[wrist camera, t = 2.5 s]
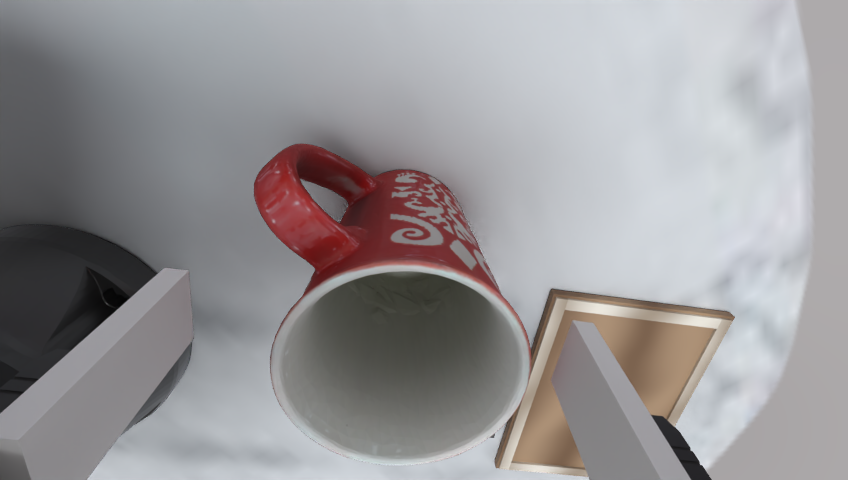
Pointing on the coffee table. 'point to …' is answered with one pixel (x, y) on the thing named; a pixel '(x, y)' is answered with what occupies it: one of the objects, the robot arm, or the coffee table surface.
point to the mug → (389, 316)
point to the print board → (636, 354)
